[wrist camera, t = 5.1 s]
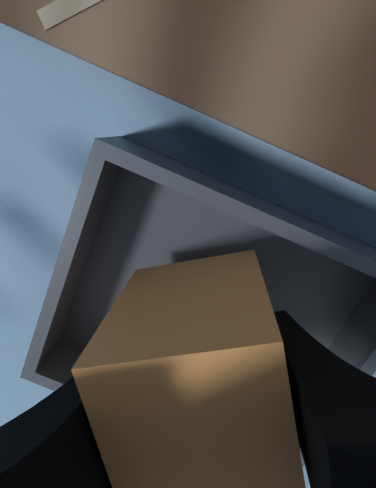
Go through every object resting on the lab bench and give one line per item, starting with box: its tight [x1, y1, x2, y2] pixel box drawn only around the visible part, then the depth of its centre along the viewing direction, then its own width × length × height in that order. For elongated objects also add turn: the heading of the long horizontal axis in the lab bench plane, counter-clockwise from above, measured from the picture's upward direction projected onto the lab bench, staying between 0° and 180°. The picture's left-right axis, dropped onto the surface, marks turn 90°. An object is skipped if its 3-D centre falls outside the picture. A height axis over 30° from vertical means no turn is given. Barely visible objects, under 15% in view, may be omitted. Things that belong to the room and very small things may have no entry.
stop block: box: [71, 250, 305, 488], centre depth 11 cm, size 4×4×6 cm
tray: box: [20, 136, 376, 467], centre depth 14 cm, size 12×10×3 cm
